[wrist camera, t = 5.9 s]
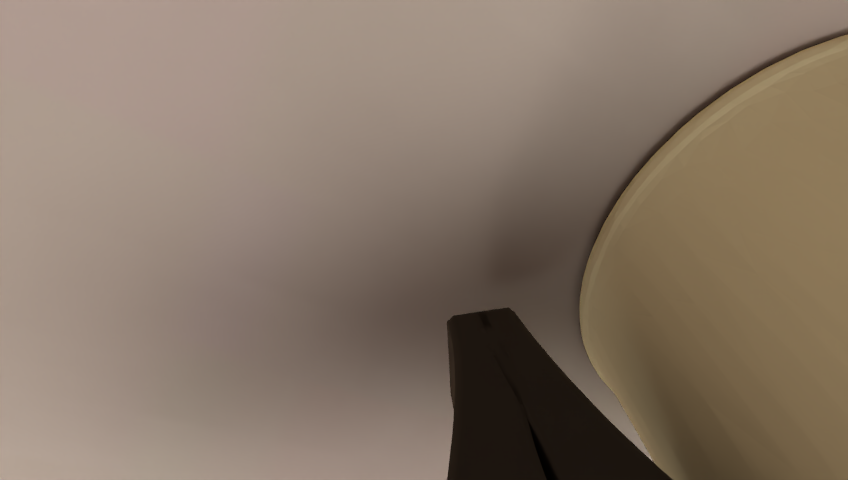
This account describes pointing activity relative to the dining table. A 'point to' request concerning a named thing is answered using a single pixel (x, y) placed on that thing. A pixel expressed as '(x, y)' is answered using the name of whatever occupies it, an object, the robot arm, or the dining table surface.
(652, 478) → the robot arm
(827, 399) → the can
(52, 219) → the dining table surface
